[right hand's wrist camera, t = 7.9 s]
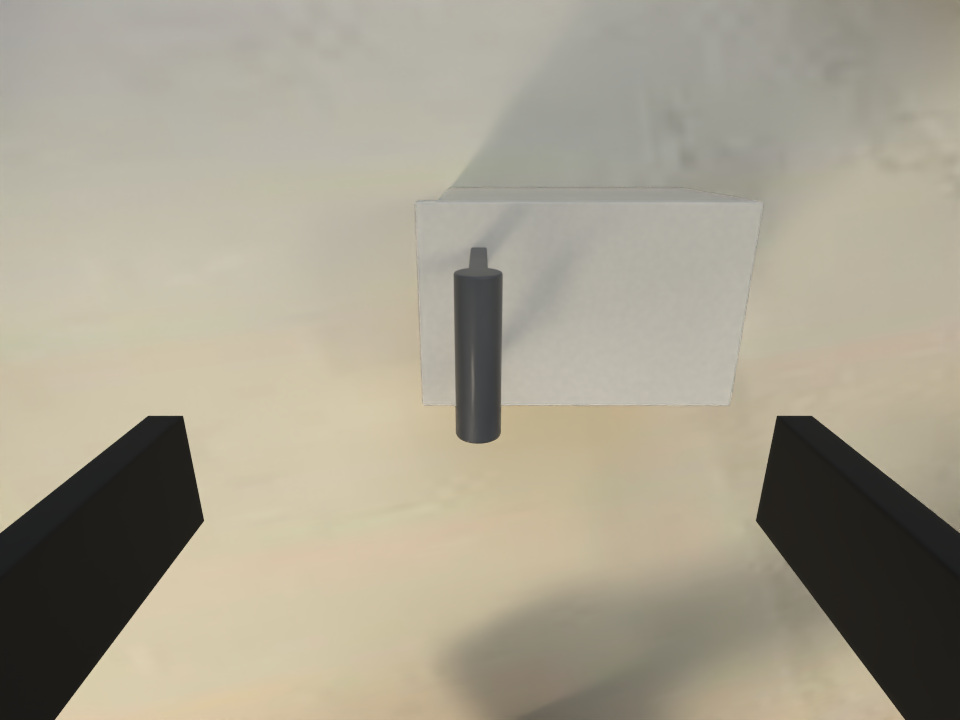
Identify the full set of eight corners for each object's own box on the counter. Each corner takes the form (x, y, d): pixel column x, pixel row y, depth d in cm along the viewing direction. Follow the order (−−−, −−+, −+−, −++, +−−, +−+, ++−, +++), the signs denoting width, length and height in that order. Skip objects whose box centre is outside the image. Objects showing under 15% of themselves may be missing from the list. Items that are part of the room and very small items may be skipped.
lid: (423, 399, 28) (403, 486, 21) (416, 200, 25) (389, 220, 17) (723, 399, 28) (810, 487, 21) (755, 200, 25) (872, 220, 17)
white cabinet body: (451, 339, 37) (442, 398, 28) (449, 187, 34) (437, 199, 25) (664, 339, 37) (722, 398, 28) (682, 187, 34) (755, 200, 25)
